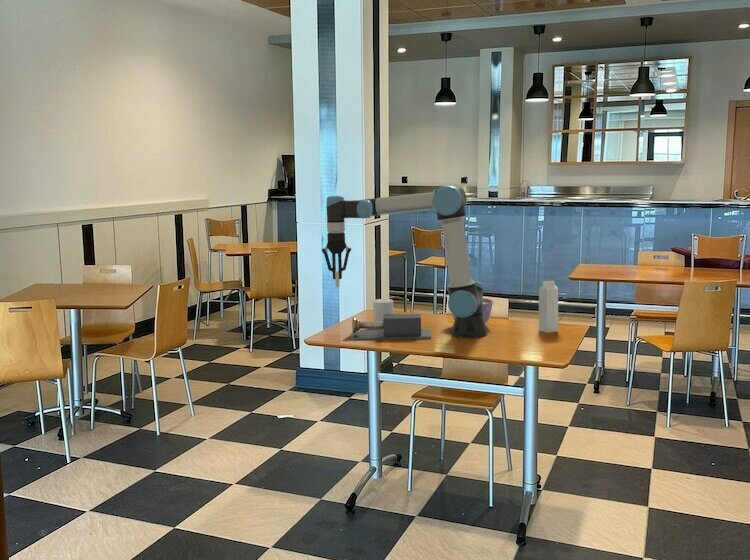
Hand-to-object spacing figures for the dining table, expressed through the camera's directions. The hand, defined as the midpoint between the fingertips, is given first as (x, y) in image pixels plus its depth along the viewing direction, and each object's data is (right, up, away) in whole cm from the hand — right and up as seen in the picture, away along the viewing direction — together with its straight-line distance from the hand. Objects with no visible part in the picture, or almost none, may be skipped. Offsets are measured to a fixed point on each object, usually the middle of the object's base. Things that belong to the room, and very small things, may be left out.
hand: (337, 286), depth 316 cm
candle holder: (+20, -19, +22) cm, 36 cm away
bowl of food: (+60, -18, +18) cm, 65 cm away
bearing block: (+23, -21, +2) cm, 32 cm away
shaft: (+17, -20, +2) cm, 27 cm away
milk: (+92, -20, +4) cm, 94 cm away
